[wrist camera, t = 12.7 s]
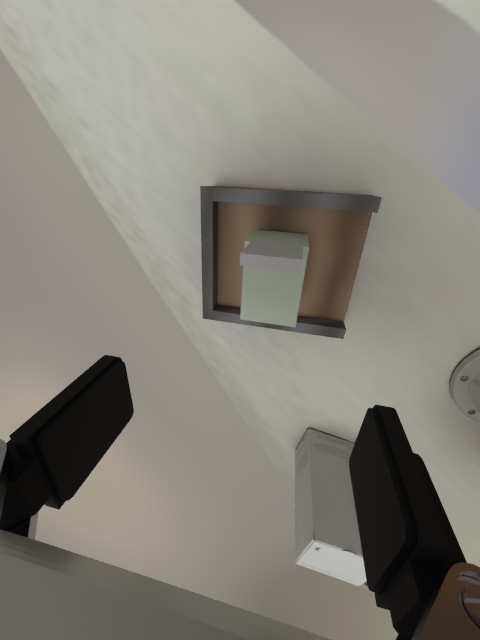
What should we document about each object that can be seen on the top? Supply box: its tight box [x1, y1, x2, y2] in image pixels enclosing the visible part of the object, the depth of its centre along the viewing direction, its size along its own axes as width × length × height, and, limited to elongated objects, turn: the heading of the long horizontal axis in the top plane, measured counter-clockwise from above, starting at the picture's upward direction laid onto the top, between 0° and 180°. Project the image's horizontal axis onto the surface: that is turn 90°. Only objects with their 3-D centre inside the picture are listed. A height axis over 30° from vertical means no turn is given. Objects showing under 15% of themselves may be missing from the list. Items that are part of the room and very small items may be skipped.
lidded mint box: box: [240, 230, 309, 327], centre depth 24 cm, size 5×7×11 cm
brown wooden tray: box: [200, 186, 382, 339], centre depth 29 cm, size 16×14×5 cm
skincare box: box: [295, 428, 367, 586], centre depth 36 cm, size 8×7×16 cm
